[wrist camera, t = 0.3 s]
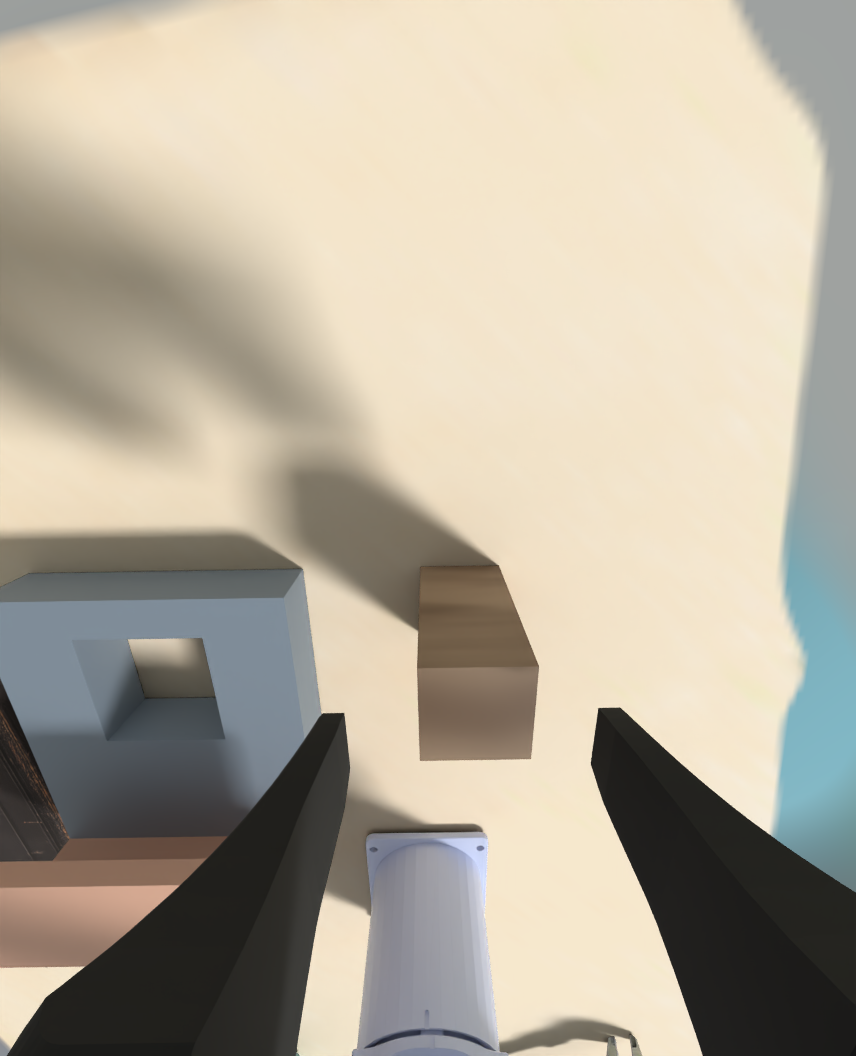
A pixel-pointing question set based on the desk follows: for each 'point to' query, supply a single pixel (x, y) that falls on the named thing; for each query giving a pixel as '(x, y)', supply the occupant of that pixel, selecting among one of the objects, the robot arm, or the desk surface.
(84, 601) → the socket block
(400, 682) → the desk surface
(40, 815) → the hardcover book
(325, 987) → the desk surface
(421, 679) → the walnut peg
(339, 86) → the desk surface
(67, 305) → the desk surface
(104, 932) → the salmon pink block
